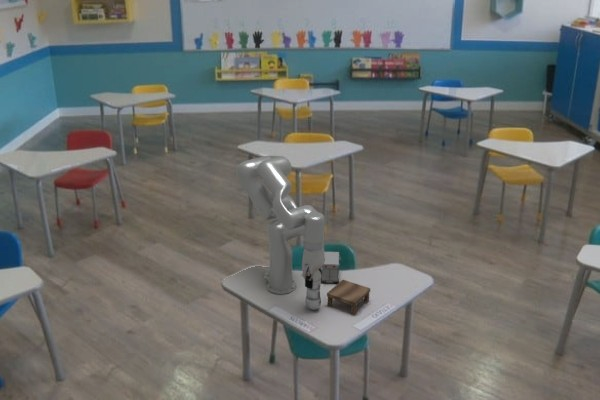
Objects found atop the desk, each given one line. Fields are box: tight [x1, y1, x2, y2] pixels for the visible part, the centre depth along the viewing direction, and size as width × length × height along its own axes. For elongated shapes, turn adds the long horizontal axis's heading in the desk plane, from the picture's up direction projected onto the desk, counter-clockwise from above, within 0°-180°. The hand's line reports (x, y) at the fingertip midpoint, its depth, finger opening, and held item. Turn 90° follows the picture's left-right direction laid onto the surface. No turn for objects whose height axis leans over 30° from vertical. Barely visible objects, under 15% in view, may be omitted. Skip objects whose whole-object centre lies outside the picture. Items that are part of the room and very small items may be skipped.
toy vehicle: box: [321, 251, 342, 284], centre depth 255 cm, size 10×17×10 cm, turn 176°
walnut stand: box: [326, 279, 371, 316], centre depth 234 cm, size 13×13×6 cm
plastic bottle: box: [304, 270, 322, 311], centre depth 227 cm, size 6×7×20 cm
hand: (313, 283), depth 226 cm, fingers closed on plastic bottle, 6 cm apart
